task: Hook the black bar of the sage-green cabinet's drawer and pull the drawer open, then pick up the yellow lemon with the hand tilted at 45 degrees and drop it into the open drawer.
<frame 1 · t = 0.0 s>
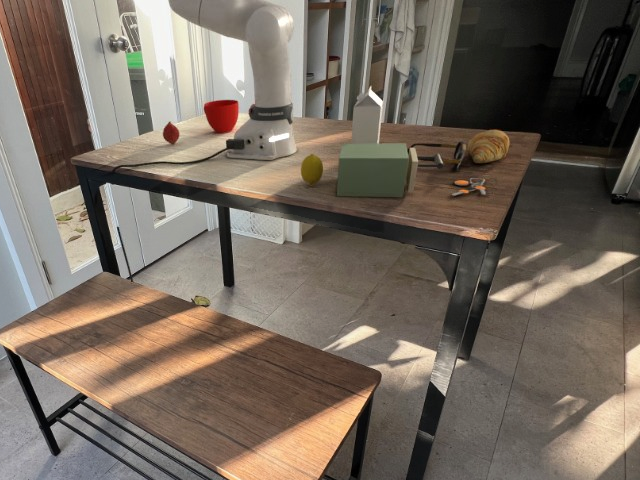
key chain: (469, 189, 102), on the table
ceramic cup: (220, 130, 170), on the table
drawer: (395, 169, 104), point 5 cm above the table, slide at 1.0 cm
lemon: (311, 186, 113), on the table
croissant: (485, 156, 121), on the table
cabinet: (369, 187, 108), on the table
onion: (172, 145, 157), on the table
milk carton: (363, 160, 127), on the table
sunglasses: (431, 164, 119), on the table
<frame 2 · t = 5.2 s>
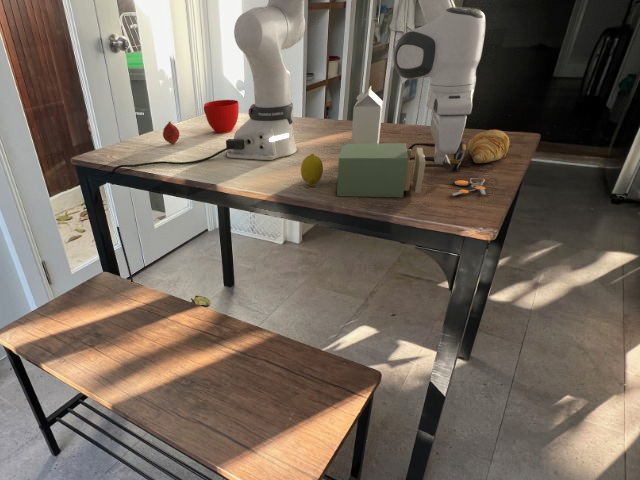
hand: (438, 162, 101), 6 cm above the table, tool pointing down, fingers closed, pressing on drawer
drawer: (402, 169, 104), point 5 cm above the table, slide at 2.6 cm, touching gripper
everything else where it was.
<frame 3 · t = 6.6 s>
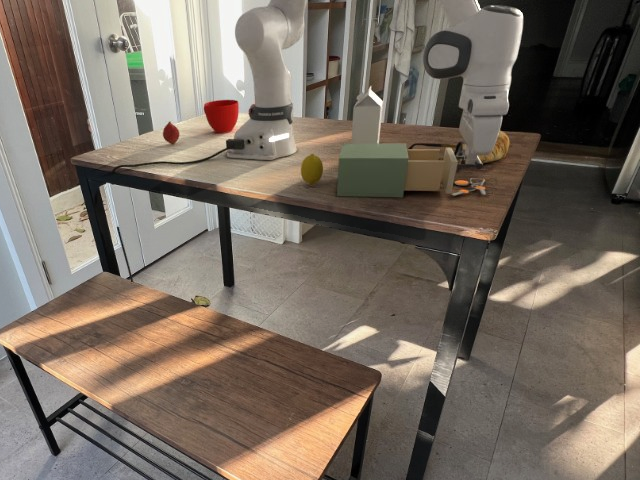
hand: (468, 163, 99), 6 cm above the table, tool pointing down, fingers closed
drawer: (432, 169, 102), point 5 cm above the table, slide at 9.1 cm
everything else where it was.
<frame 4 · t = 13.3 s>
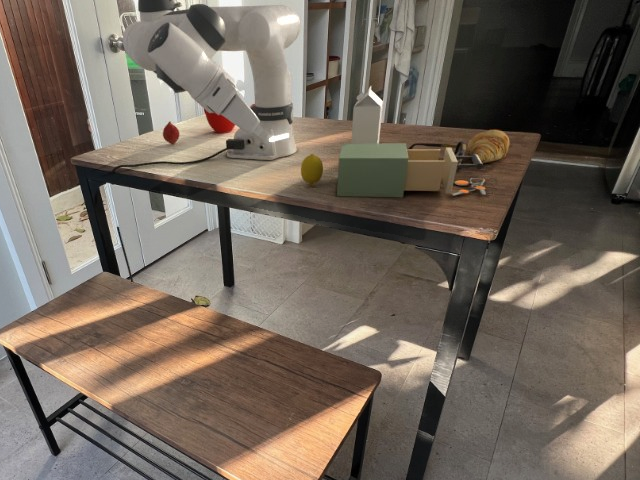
hand: (260, 132, 103), 15 cm above the table, tool tilted 45°, fingers open, 8 cm apart
nothing on the table moved.
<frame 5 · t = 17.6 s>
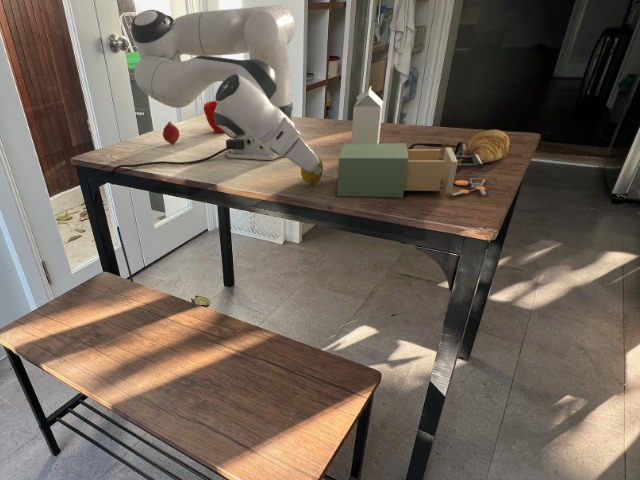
hand: (314, 168, 110), 4 cm above the table, tool tilted 45°, fingers closed on lemon, 5 cm apart
lemon: (311, 186, 113), on the table, touching gripper
everything else where it was.
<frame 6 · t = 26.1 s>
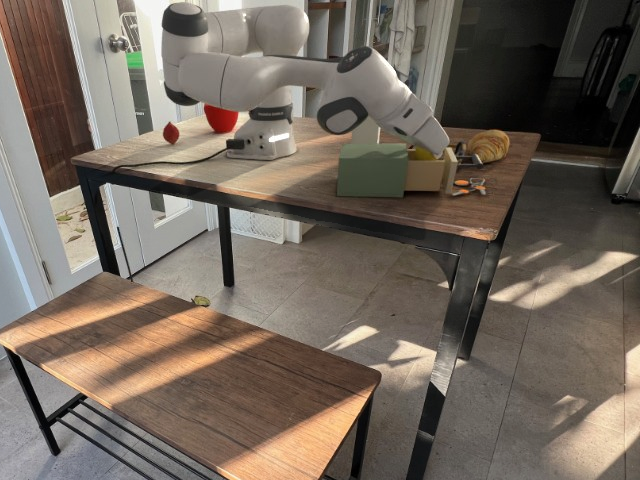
hand: (430, 151, 100), 9 cm above the table, tool tilted 45°, fingers closed on lemon, 5 cm apart
lemon: (424, 171, 103), point 4 cm above the table, touching gripper
everything else where it was.
when the fingers open (10 cm above the table, at t = 35.9 s): lemon drops 3 cm, resting on cabinet, drawer.
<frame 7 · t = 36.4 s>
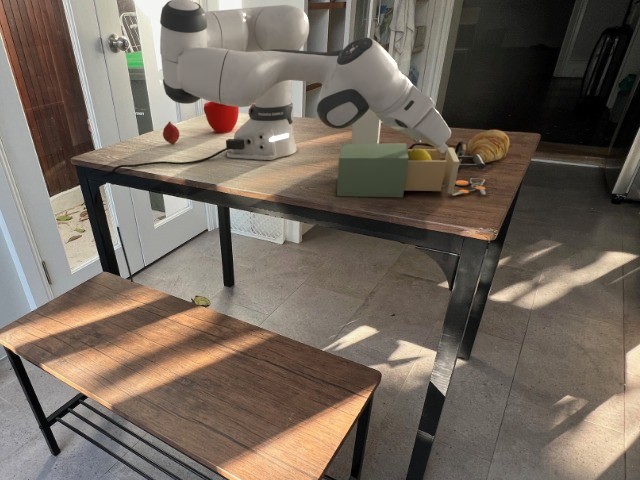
hand: (431, 145, 99), 10 cm above the table, tool tilted 45°, fingers open, 8 cm apart
drawer: (433, 169, 102), point 5 cm above the table, slide at 9.4 cm, touching lemon
lemon: (424, 178, 104), point 3 cm above the table, touching cabinet, drawer
everything else where it was.
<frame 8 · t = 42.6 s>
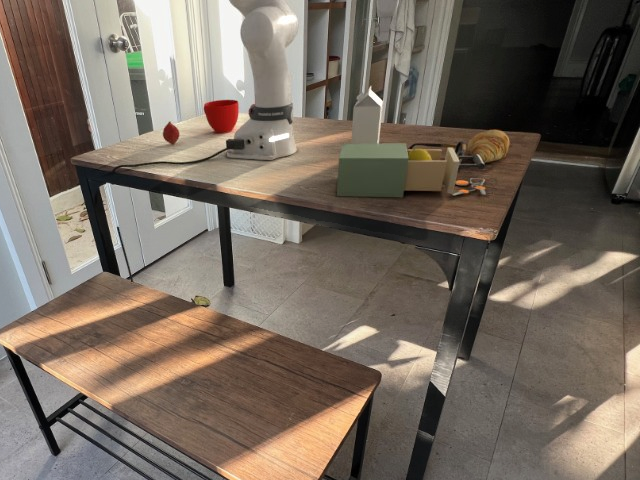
hand: (383, 39, 98), 31 cm above the table, tool pointing down, fingers open, 8 cm apart
nothing on the table moved.
at the end: drawer slide at 9.4 cm; lemon inside the target area in the cabinet (7.4 cm from its centre), point 2.5 cm above the cabinet's base; lemon touching cabinet, drawer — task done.
